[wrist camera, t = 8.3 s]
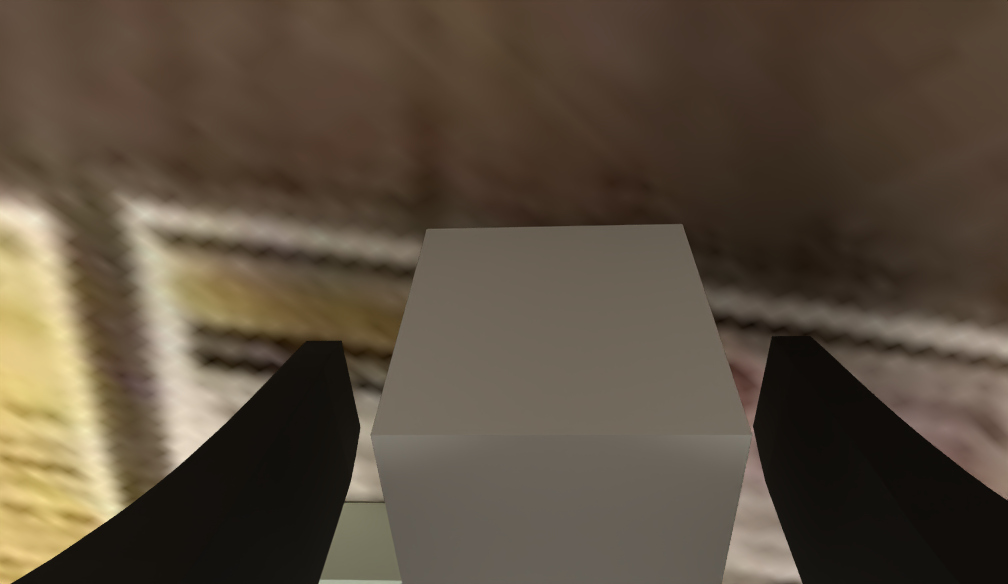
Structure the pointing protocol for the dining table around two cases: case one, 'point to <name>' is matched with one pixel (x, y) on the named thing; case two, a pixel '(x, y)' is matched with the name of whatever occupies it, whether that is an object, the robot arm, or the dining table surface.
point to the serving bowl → (362, 548)
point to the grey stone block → (560, 412)
